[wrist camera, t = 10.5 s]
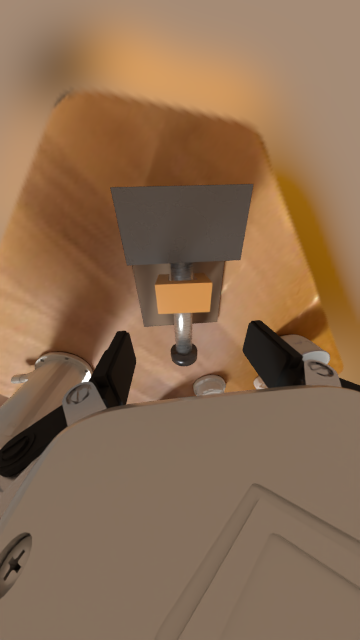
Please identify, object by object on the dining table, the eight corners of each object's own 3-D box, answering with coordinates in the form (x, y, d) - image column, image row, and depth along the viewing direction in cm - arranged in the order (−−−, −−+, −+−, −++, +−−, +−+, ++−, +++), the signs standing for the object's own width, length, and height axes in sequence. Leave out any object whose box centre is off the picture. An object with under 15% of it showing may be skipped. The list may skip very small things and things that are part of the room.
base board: (144, 324, 31) (144, 326, 30) (123, 211, 21) (121, 209, 20) (215, 319, 32) (217, 321, 31) (228, 207, 21) (230, 206, 21)
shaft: (171, 348, 29) (171, 367, 25) (163, 256, 20) (161, 261, 16) (194, 346, 29) (199, 365, 25) (197, 255, 20) (204, 259, 16)
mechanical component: (229, 376, 43) (199, 371, 41) (235, 389, 39) (202, 385, 37) (216, 395, 47) (188, 392, 45) (220, 408, 44) (190, 406, 42)
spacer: (158, 274, 21) (154, 284, 17) (203, 272, 22) (212, 282, 17) (161, 298, 23) (158, 314, 19) (202, 297, 24) (209, 311, 19)
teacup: (303, 323, 34) (337, 344, 27) (298, 353, 39) (326, 377, 33) (247, 340, 35) (265, 364, 29) (249, 367, 41) (266, 393, 34)
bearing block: (142, 255, 23) (127, 265, 14) (135, 209, 20) (110, 187, 11) (213, 252, 24) (240, 259, 15) (217, 206, 20) (253, 184, 12)
